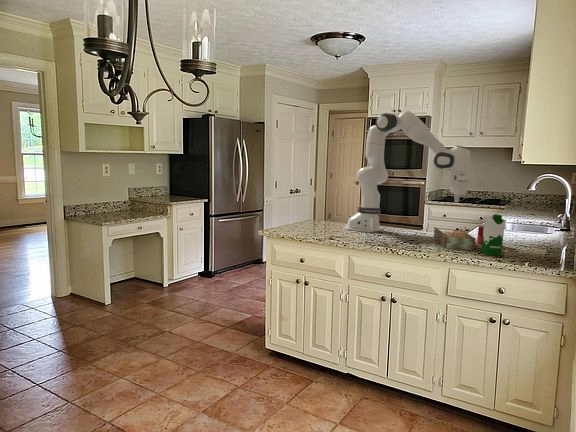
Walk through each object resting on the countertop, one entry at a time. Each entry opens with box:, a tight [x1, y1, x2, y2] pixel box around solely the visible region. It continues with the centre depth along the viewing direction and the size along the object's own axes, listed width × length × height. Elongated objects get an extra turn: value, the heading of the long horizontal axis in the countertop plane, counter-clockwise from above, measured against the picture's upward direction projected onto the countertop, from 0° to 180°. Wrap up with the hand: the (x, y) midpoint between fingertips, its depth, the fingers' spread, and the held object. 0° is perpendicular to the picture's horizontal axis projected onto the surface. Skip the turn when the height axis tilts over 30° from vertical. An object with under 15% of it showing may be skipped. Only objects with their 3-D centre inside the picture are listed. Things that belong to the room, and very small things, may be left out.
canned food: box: [476, 223, 484, 246], centre depth 239 cm, size 8×8×11 cm
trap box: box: [433, 226, 476, 251], centre depth 239 cm, size 15×28×6 cm, turn 172°
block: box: [451, 230, 465, 238], centre depth 229 cm, size 5×5×4 cm
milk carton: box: [480, 214, 507, 257], centre depth 216 cm, size 9×9×20 cm
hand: (456, 202), depth 236 cm, fingers closed
